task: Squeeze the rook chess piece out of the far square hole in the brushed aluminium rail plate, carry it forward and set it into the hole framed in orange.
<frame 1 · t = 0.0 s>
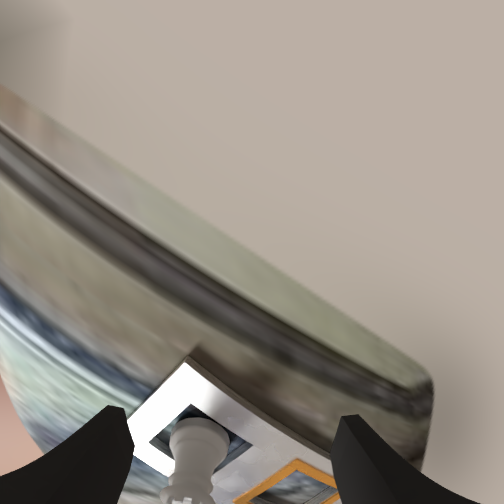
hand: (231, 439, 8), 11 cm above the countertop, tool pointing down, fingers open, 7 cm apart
rook chess piece: (201, 434, 20), resting in rail plate
rail plate: (250, 466, 20), on the countertop
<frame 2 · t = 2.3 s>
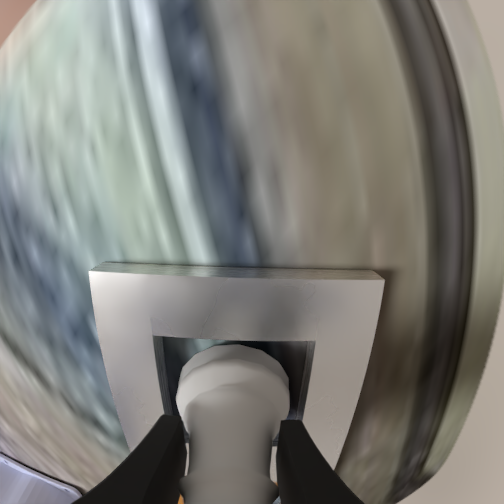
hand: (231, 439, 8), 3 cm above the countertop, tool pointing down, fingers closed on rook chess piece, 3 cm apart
rook chess piece: (234, 380, 12), resting in rail plate, touching gripper
rail plate: (234, 454, 13), on the countertop
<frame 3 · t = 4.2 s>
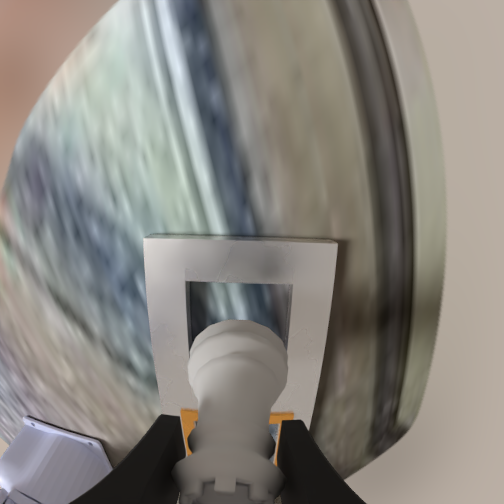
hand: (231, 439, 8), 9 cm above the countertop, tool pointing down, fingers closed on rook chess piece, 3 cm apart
rook chess piece: (239, 354, 14), point 4 cm above the countertop, touching gripper
rail plate: (237, 387, 18), on the countertop
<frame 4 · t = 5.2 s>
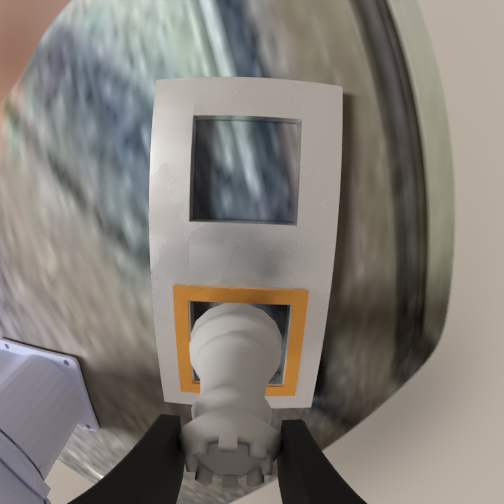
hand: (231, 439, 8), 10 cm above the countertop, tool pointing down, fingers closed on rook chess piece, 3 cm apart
rook chess piece: (236, 337, 15), point 3 cm above the countertop, touching gripper
rail plate: (241, 259, 17), on the countertop
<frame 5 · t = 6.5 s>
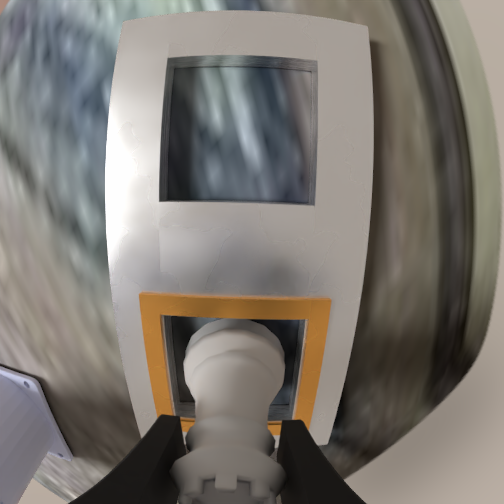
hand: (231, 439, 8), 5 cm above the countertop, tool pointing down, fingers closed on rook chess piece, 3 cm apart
rook chess piece: (235, 353, 13), resting in rail plate, touching gripper
rail plate: (235, 255, 12), on the countertop
when the fingers open (4 cm above the countertop, at t = 7.1 s): rook chess piece stays where it is, resting in rail plate.
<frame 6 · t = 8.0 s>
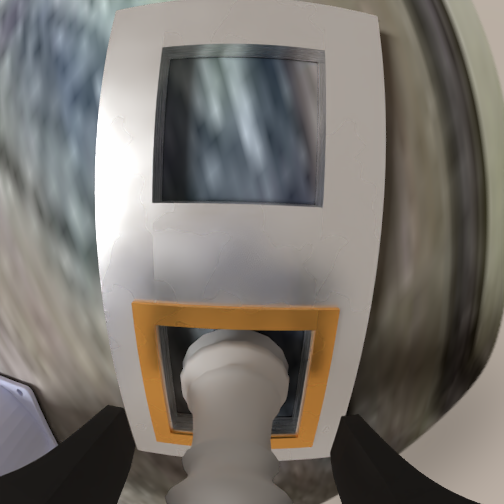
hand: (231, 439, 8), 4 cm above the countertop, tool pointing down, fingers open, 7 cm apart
rook chess piece: (235, 364, 13), resting in rail plate
rail plate: (236, 261, 11), on the countertop
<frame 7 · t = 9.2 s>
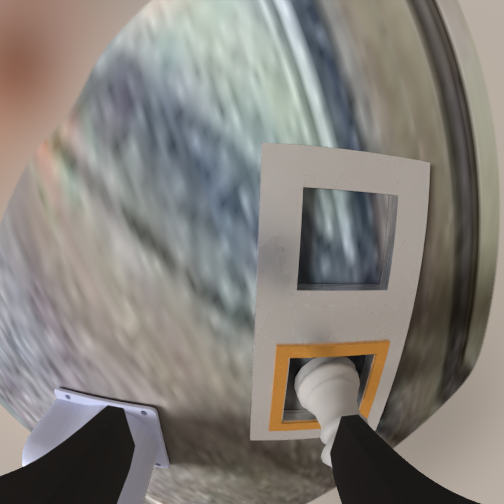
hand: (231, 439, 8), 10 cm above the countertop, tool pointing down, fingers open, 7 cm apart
rook chess piece: (323, 375, 20), resting in rail plate
rail plate: (334, 316, 18), on the countertop
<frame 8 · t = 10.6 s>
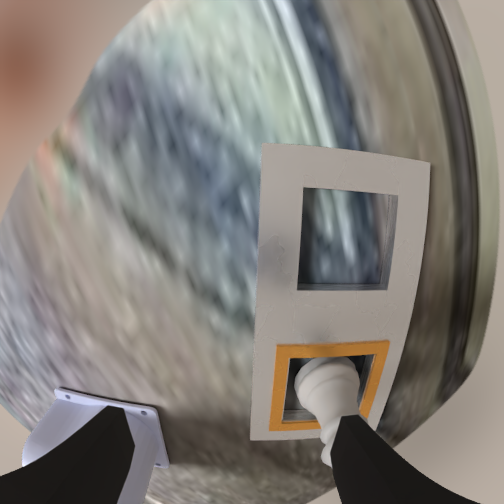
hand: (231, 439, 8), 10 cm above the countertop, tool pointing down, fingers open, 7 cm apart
rook chess piece: (323, 375, 20), resting in rail plate
rail plate: (334, 316, 18), on the countertop
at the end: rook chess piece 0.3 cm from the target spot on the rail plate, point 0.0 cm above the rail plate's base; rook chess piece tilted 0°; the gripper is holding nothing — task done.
